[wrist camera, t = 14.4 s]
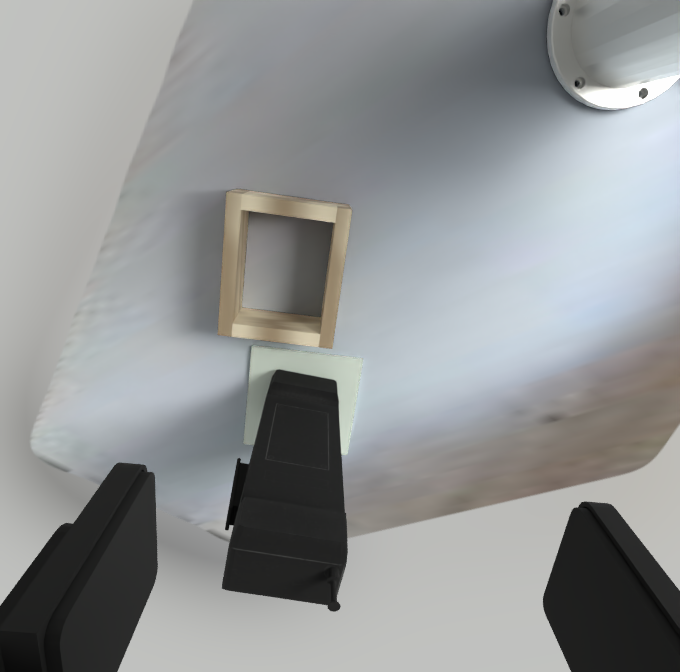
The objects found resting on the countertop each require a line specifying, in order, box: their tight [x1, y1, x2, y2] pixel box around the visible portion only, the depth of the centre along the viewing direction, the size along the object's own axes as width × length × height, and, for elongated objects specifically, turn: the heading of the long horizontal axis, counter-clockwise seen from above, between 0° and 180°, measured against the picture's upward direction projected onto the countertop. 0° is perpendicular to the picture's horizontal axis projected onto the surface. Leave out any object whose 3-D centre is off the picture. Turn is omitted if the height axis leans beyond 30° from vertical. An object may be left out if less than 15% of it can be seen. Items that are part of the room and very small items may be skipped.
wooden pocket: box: [218, 189, 352, 349], centre depth 43 cm, size 10×12×5 cm
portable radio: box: [222, 369, 348, 611], centre depth 38 cm, size 8×6×25 cm
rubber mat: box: [243, 345, 363, 455], centre depth 50 cm, size 11×11×1 cm
